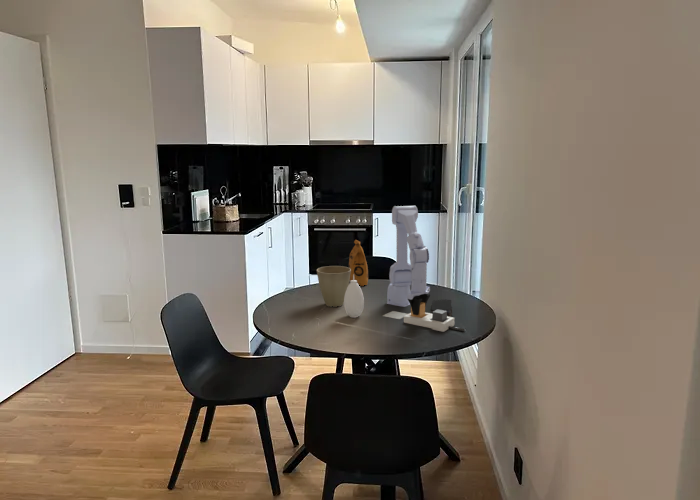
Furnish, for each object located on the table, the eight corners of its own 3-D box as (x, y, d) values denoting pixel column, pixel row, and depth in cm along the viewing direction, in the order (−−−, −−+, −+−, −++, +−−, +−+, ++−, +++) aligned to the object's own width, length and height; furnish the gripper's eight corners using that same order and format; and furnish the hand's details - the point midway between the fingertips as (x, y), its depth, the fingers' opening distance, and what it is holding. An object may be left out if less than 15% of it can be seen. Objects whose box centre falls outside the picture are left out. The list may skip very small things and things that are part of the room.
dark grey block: (432, 327, 195) (432, 311, 194) (437, 324, 198) (437, 309, 197) (441, 329, 192) (442, 313, 191) (446, 326, 195) (446, 311, 194)
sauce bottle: (354, 313, 213) (353, 271, 210) (367, 317, 208) (367, 273, 204) (340, 317, 208) (339, 274, 205) (354, 321, 202) (353, 277, 199)
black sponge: (452, 318, 205) (452, 309, 205) (430, 317, 207) (431, 309, 206) (451, 307, 221) (451, 299, 221) (431, 306, 223) (431, 298, 222)
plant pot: (311, 307, 222) (310, 271, 219) (326, 299, 236) (325, 265, 233) (343, 311, 217) (343, 274, 214) (356, 301, 230) (356, 267, 227)
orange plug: (411, 318, 200) (411, 303, 199) (416, 315, 203) (416, 301, 202) (420, 320, 197) (420, 305, 196) (425, 317, 201) (425, 302, 200)
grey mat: (382, 316, 208) (382, 315, 208) (392, 312, 214) (392, 310, 214) (399, 320, 203) (399, 319, 203) (409, 315, 209) (409, 314, 209)
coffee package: (349, 286, 258) (348, 243, 254) (348, 281, 270) (347, 239, 266) (368, 286, 258) (368, 243, 254) (367, 280, 270) (367, 239, 266)
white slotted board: (403, 323, 199) (403, 316, 199) (415, 317, 206) (415, 310, 206) (458, 334, 186) (459, 326, 185) (469, 328, 193) (469, 320, 192)
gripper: (418, 284, 189) (418, 319, 192) (437, 276, 201) (436, 310, 203) (402, 281, 193) (402, 316, 196) (421, 274, 205) (420, 307, 207)
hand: (418, 313), depth 200 cm, fingers closed on orange plug, 4 cm apart
